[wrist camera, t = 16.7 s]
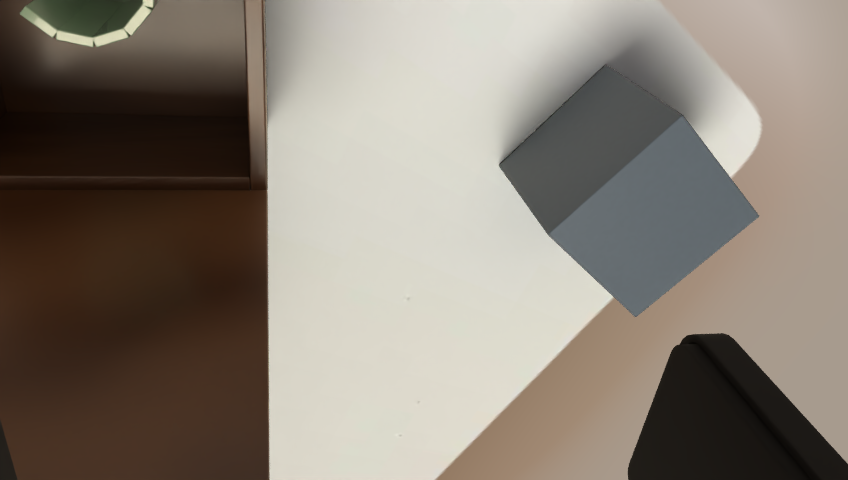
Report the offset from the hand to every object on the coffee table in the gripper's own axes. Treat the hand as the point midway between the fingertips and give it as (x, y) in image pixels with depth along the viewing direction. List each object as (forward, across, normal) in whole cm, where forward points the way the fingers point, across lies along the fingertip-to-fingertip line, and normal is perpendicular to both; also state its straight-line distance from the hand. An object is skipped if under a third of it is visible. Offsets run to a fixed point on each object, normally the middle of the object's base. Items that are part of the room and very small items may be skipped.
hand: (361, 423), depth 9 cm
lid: (+11, +8, +7) cm, 15 cm away
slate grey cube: (+27, -17, +7) cm, 32 cm away
